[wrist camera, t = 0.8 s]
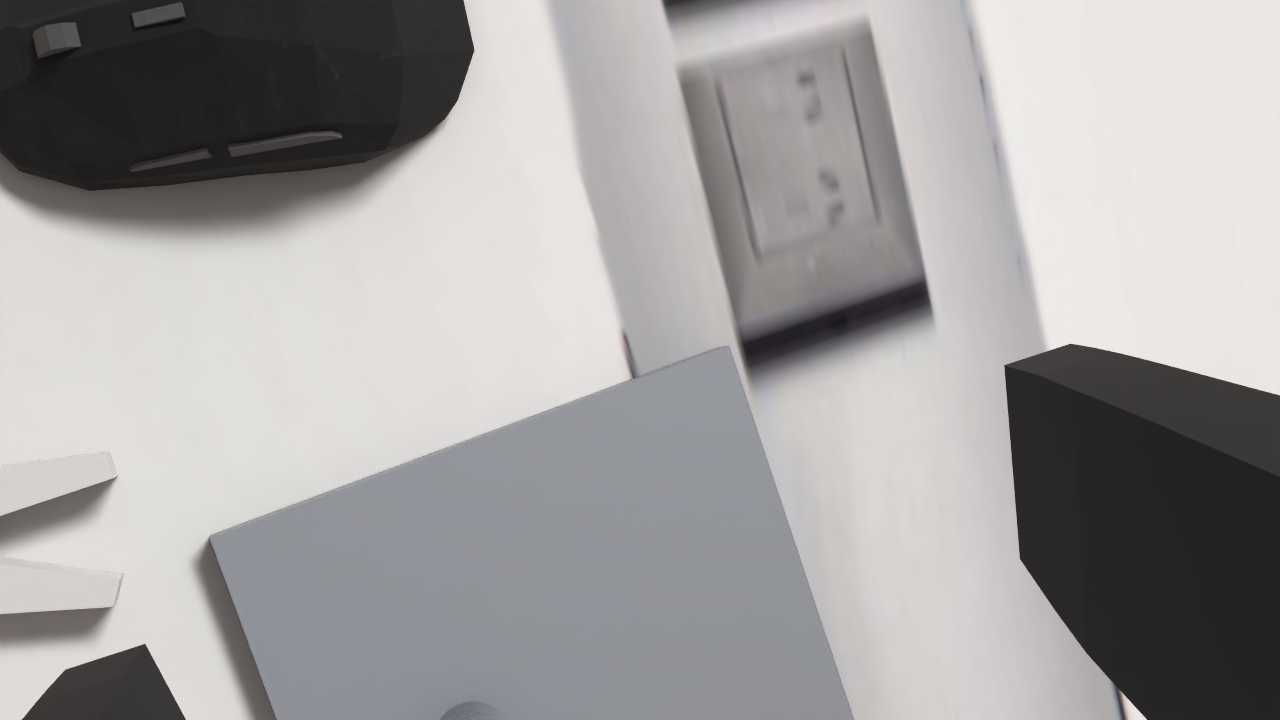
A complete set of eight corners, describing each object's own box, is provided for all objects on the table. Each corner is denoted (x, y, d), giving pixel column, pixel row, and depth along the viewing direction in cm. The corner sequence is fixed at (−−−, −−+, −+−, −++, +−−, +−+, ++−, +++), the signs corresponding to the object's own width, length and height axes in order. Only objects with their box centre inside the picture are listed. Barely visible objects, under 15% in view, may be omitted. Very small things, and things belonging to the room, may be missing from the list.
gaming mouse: (-221, -30, 26) (-298, -106, 22) (432, -89, 31) (461, -160, 27) (-153, 248, 26) (-217, 220, 22) (486, 144, 31) (522, 107, 27)
